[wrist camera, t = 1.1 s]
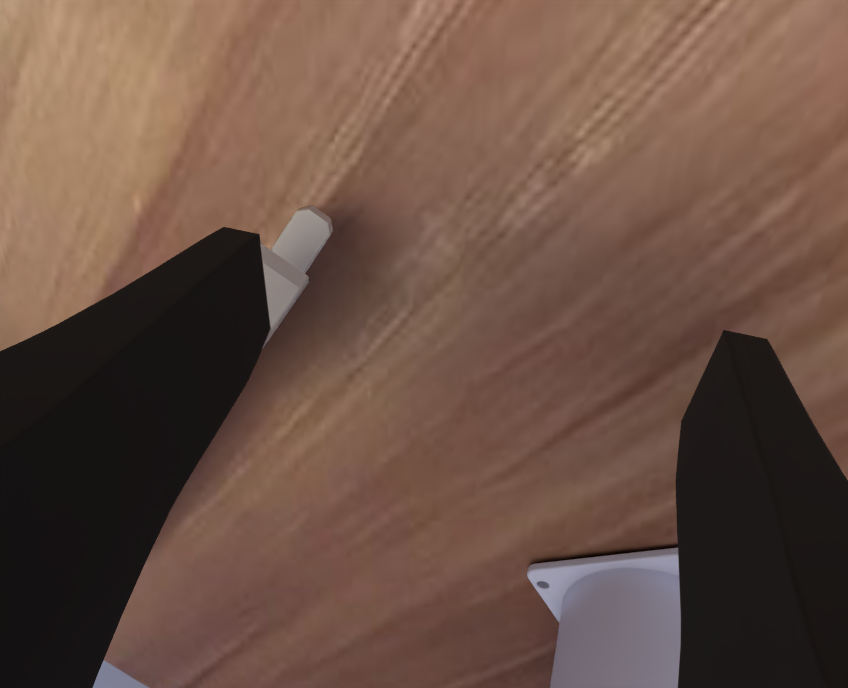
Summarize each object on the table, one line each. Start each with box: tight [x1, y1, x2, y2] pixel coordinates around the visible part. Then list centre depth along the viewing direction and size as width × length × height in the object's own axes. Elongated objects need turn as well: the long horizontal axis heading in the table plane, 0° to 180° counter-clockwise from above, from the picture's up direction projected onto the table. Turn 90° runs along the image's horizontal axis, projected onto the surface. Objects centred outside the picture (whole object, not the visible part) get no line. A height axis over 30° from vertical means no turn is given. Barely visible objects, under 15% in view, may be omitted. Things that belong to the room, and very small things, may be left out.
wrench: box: [260, 206, 333, 351], centre depth 30 cm, size 8×2×30 cm
